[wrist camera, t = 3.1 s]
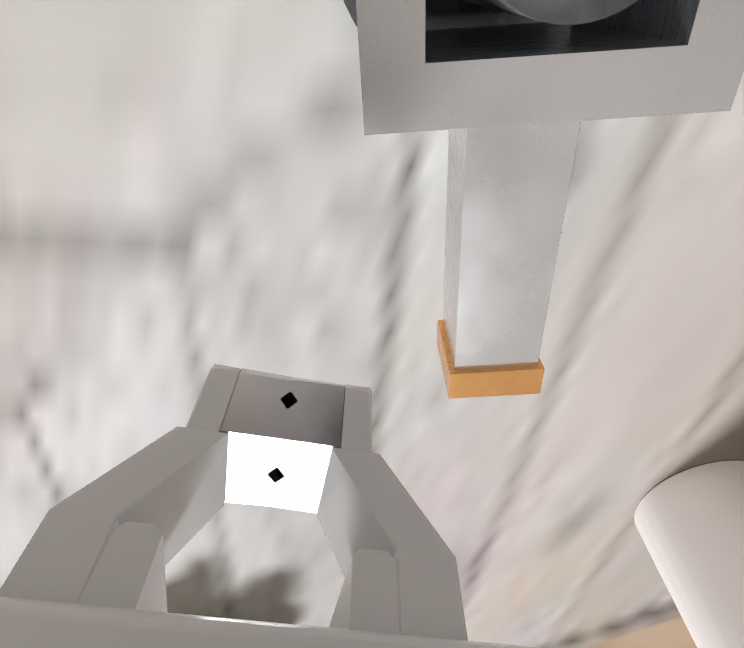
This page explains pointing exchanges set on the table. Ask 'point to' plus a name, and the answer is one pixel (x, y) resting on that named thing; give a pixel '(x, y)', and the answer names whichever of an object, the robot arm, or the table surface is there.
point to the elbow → (528, 145)
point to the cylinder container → (700, 548)
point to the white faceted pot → (511, 12)
